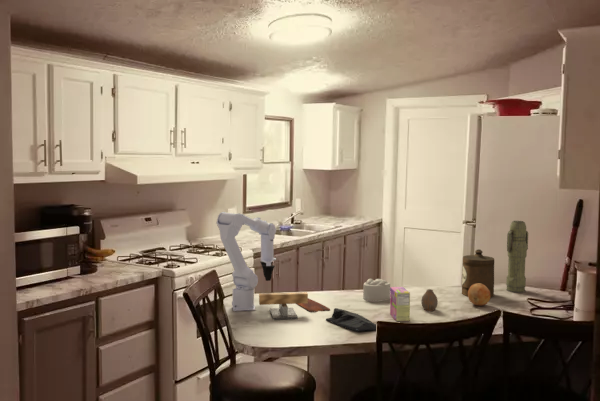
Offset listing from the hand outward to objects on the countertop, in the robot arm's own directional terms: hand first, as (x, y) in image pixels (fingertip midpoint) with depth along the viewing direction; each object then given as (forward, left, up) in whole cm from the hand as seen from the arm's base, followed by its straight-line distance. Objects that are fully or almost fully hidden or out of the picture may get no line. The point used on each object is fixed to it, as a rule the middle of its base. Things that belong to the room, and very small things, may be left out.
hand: (267, 278), depth 252 cm
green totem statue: (+125, +5, -11) cm, 126 cm away
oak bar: (+4, -23, -5) cm, 24 cm away
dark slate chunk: (+31, -39, -11) cm, 51 cm away
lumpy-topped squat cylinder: (+51, -1, -11) cm, 52 cm away
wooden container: (+102, 0, -11) cm, 103 cm away
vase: (+68, -23, -11) cm, 73 cm away
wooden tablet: (+18, -7, -11) cm, 22 cm away
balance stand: (+4, -23, -10) cm, 25 cm away
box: (+51, -33, -11) cm, 62 cm away
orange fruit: (+93, -19, -11) cm, 96 cm away
